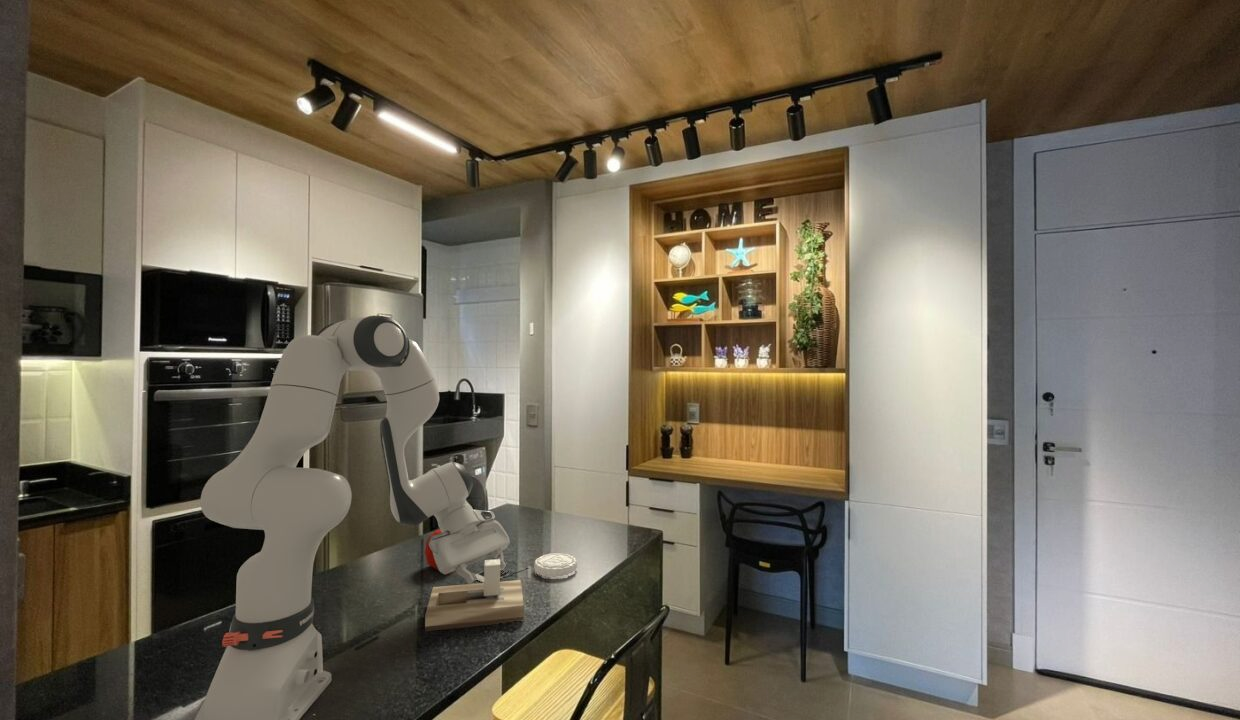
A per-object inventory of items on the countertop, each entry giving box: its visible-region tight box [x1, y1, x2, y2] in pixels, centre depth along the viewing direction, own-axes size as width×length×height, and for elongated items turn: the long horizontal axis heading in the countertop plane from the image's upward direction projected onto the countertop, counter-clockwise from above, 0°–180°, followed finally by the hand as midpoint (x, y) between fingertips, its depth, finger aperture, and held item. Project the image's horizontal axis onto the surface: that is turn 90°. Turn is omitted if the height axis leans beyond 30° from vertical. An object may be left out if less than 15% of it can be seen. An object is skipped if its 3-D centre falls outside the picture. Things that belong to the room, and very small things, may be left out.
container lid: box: [533, 552, 578, 577], centre depth 143 cm, size 12×12×4 cm
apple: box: [424, 528, 442, 571], centre depth 144 cm, size 10×10×12 cm
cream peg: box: [483, 558, 501, 599], centre depth 119 cm, size 5×5×10 cm
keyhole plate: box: [424, 579, 525, 632], centre depth 118 cm, size 14×21×4 cm, turn 104°
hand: (488, 575), depth 120 cm, fingers open, 8 cm apart
